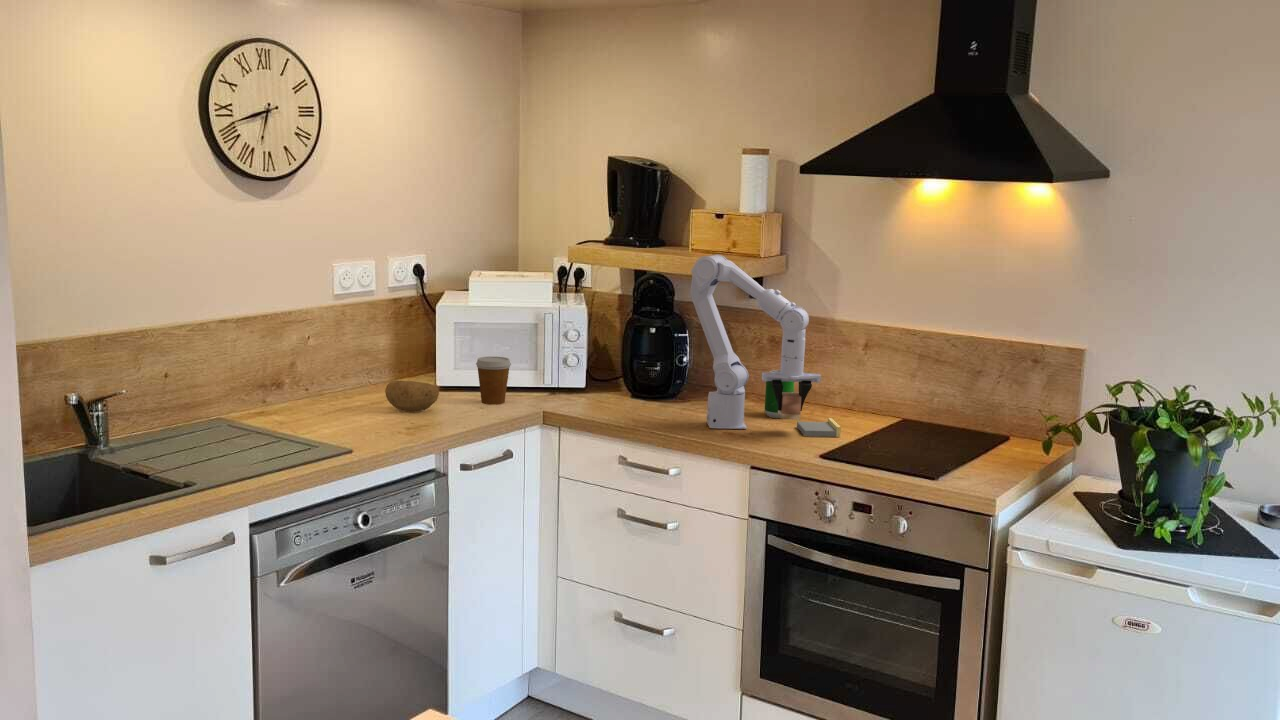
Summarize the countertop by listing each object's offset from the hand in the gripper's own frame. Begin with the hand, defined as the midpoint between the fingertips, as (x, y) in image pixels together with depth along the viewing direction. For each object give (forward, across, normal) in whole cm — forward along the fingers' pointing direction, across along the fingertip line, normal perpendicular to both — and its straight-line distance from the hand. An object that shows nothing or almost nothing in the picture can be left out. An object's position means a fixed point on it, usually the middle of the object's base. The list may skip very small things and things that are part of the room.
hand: (789, 409), depth 281 cm
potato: (+7, -96, +17) cm, 98 cm away
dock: (+6, +8, +2) cm, 10 cm away
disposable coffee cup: (+7, -76, +30) cm, 82 cm away
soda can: (+6, +1, +20) cm, 21 cm away
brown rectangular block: (+2, 0, 0) cm, 2 cm away
